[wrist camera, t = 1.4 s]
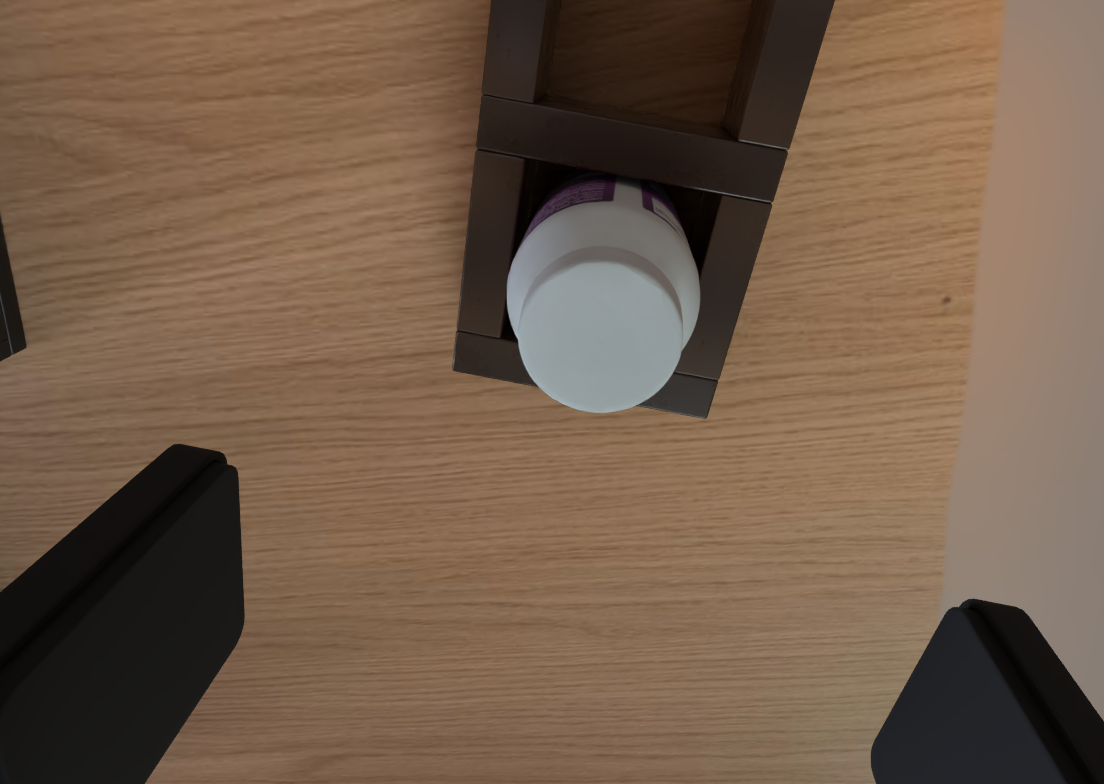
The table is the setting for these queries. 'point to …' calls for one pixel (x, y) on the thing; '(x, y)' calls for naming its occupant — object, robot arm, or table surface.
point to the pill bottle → (603, 291)
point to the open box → (8, 308)
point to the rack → (632, 176)
